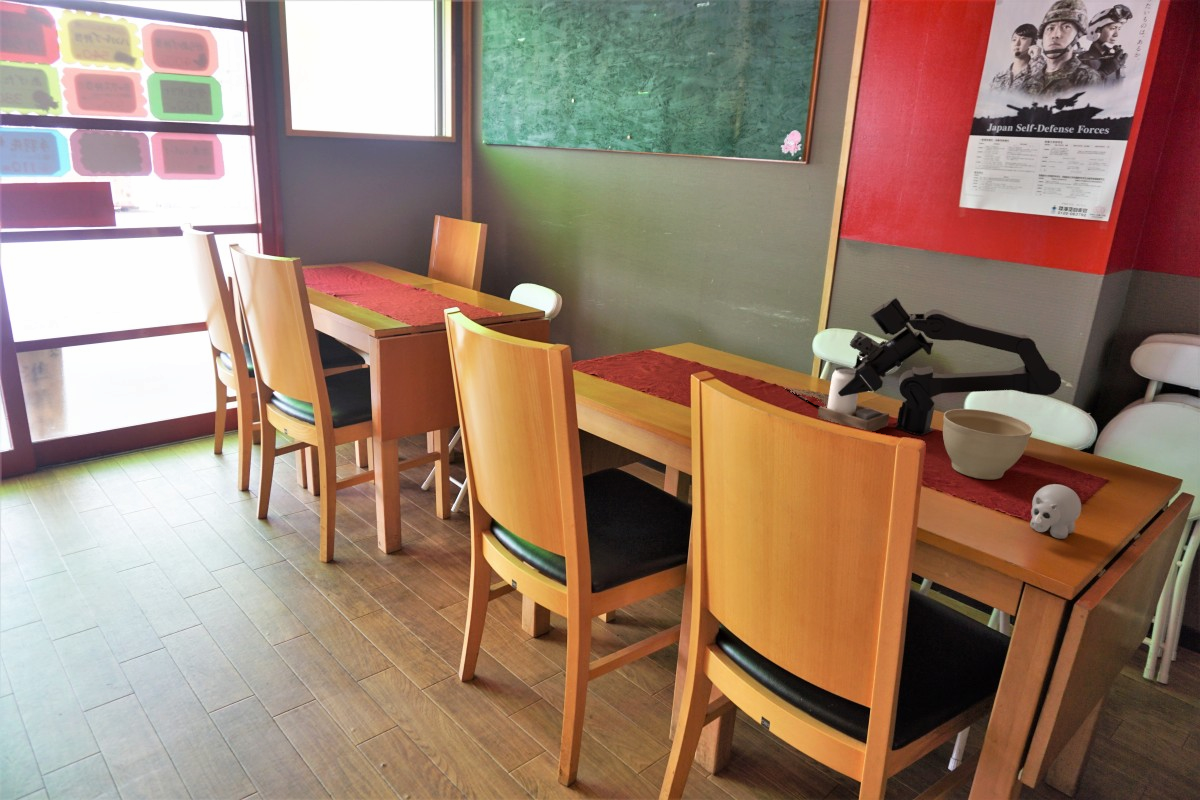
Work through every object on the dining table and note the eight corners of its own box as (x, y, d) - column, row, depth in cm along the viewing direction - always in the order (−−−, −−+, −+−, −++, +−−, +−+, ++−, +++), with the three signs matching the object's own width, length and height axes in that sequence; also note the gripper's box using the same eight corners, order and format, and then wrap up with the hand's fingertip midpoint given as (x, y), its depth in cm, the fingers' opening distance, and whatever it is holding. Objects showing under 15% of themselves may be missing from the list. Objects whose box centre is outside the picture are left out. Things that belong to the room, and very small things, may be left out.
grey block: (879, 425, 183) (881, 411, 182) (864, 431, 179) (866, 416, 178) (865, 421, 186) (867, 407, 185) (850, 427, 181) (852, 412, 180)
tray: (887, 426, 184) (889, 413, 183) (865, 434, 177) (867, 422, 176) (839, 411, 192) (841, 399, 191) (817, 418, 186) (819, 406, 185)
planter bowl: (1022, 468, 163) (1034, 419, 159) (1017, 495, 149) (1030, 441, 146) (940, 450, 170) (950, 402, 167) (928, 473, 157) (938, 422, 154)
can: (832, 412, 191) (839, 364, 187) (858, 419, 187) (866, 370, 184) (821, 418, 186) (828, 369, 183) (847, 425, 183) (855, 375, 179)
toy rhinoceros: (1006, 535, 133) (1018, 489, 130) (1036, 518, 140) (1048, 474, 137) (1051, 553, 127) (1064, 506, 125) (1080, 534, 135) (1092, 488, 132)
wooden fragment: (878, 415, 191) (879, 411, 191) (847, 422, 186) (848, 418, 185) (801, 386, 212) (802, 382, 212) (771, 391, 206) (772, 387, 206)
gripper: (875, 314, 187) (821, 353, 193) (875, 330, 170) (815, 372, 176) (904, 351, 187) (849, 388, 193) (907, 370, 170) (846, 411, 177)
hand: (840, 389), depth 185 cm, fingers open, 9 cm apart
